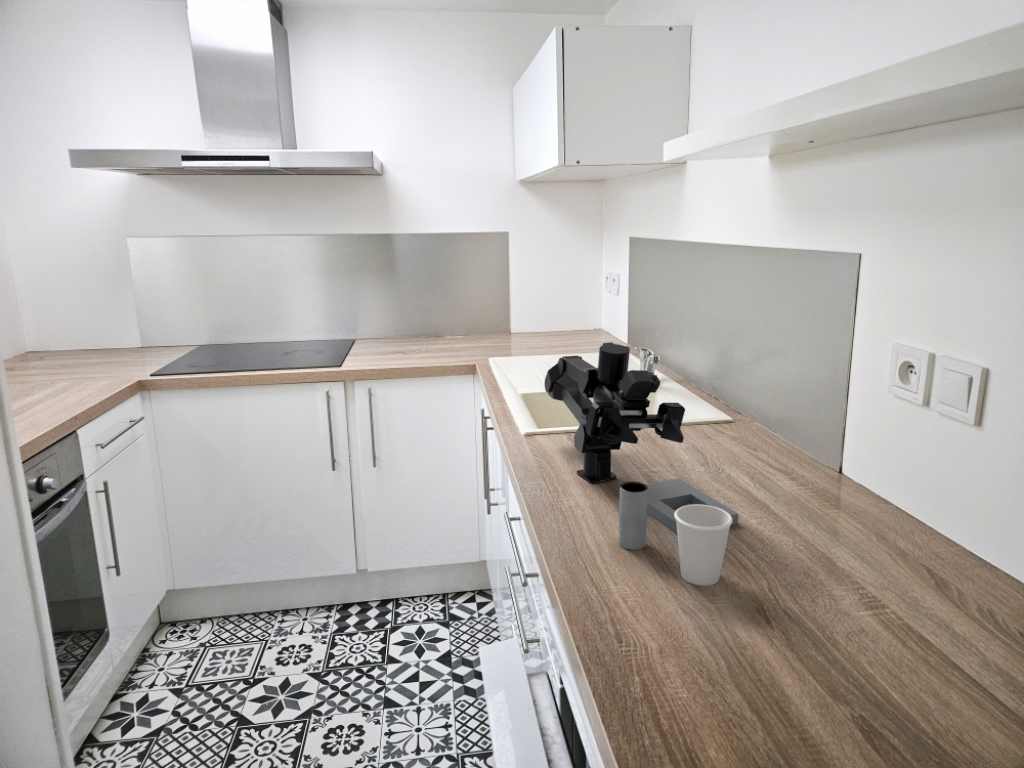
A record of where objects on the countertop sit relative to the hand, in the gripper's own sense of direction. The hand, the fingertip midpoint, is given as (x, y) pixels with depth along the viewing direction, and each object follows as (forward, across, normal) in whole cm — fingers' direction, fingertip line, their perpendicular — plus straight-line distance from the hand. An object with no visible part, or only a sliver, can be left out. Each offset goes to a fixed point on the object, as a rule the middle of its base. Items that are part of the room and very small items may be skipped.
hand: (659, 440), depth 116 cm
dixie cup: (+20, -1, +13) cm, 24 cm away
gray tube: (+7, -5, +16) cm, 18 cm away
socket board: (-2, +10, +15) cm, 18 cm away
